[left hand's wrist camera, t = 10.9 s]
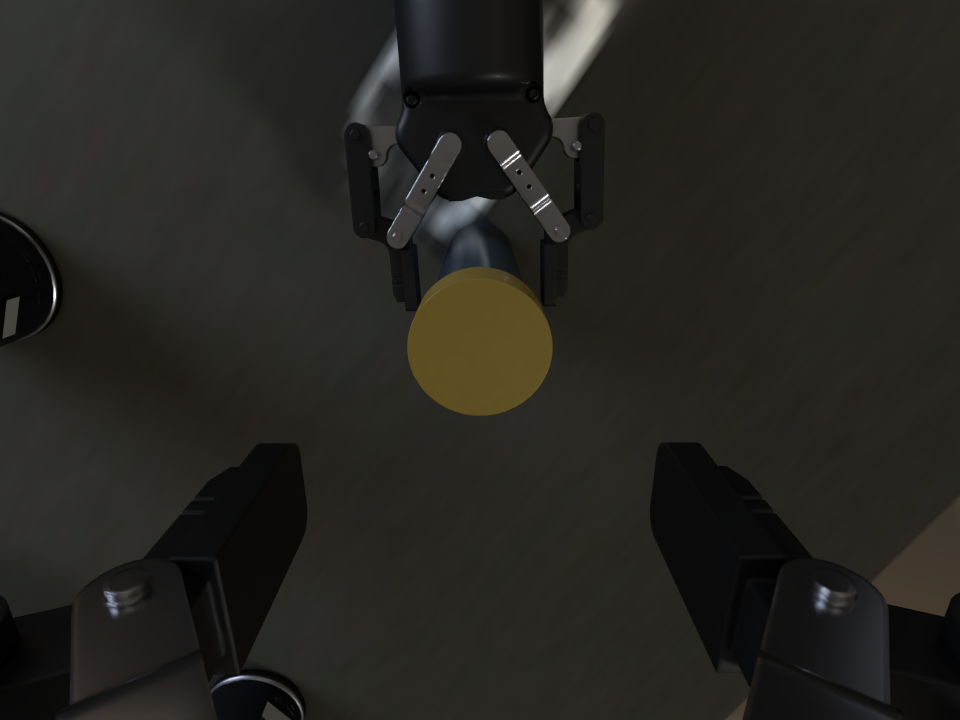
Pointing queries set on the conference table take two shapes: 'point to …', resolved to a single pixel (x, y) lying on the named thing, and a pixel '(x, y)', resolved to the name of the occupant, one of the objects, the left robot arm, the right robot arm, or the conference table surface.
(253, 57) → the conference table surface
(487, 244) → the dark blue cylinder
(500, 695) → the conference table surface
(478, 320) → the lid
